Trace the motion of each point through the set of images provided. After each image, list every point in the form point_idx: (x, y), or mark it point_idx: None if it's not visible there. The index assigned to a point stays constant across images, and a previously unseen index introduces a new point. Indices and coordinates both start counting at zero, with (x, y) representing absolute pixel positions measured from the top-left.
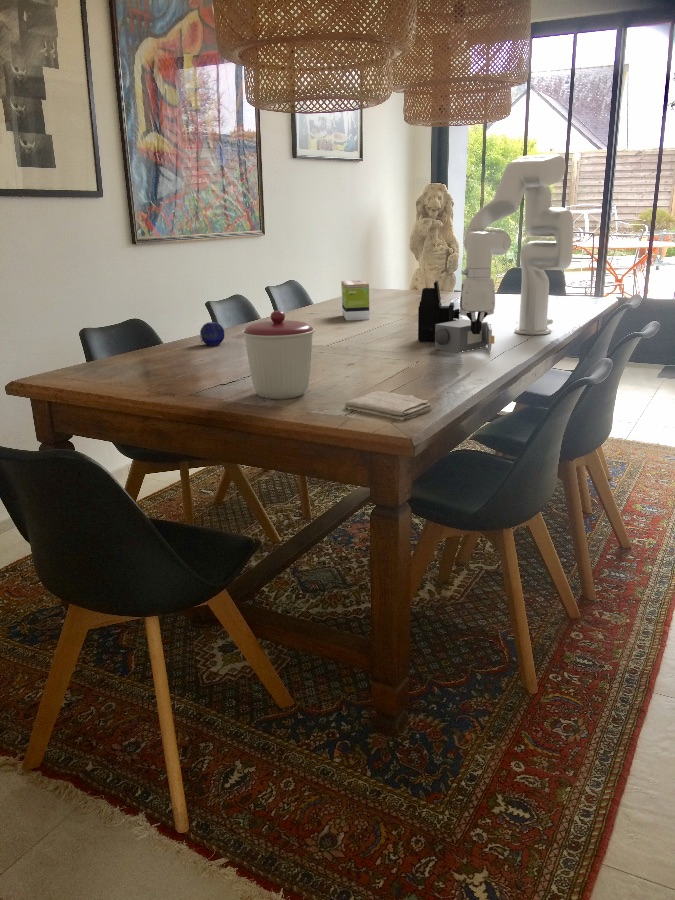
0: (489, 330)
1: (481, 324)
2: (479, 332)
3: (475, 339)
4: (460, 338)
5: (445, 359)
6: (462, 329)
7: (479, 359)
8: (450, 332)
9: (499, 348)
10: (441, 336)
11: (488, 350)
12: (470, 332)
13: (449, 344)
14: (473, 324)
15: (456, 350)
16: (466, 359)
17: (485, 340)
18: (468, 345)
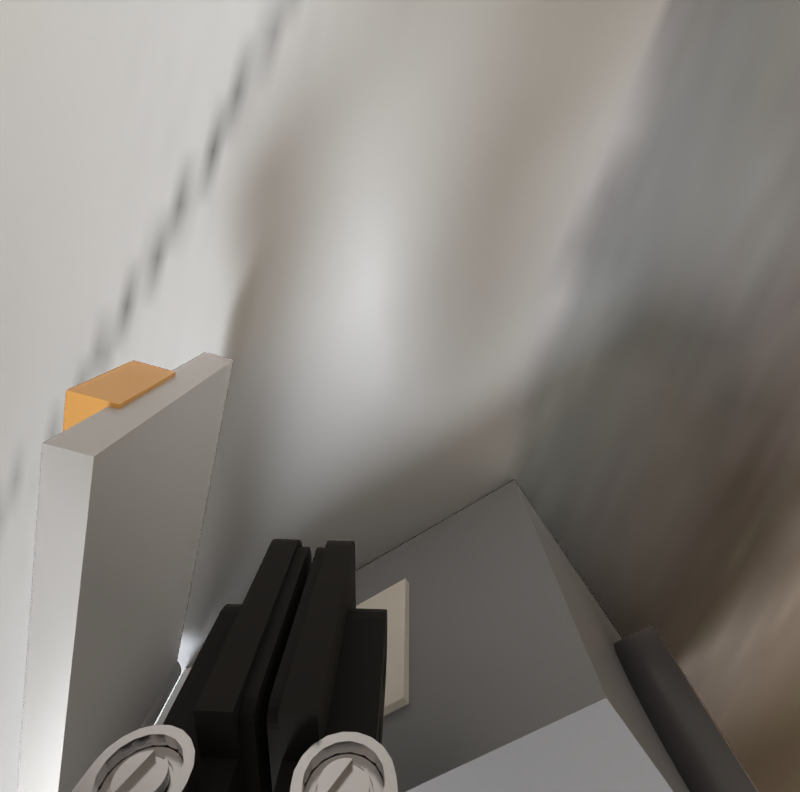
0: (98, 453)
1: (184, 685)
2: (273, 549)
3: None
4: (531, 577)
5: (792, 181)
6: (524, 691)
7: (420, 79)
8: (651, 728)
9: None
10: (715, 724)
11: (229, 378)
12: None
13: (597, 613)
14: (354, 696)
15: (535, 513)
16: (565, 119)
17: None
18: (391, 583)
